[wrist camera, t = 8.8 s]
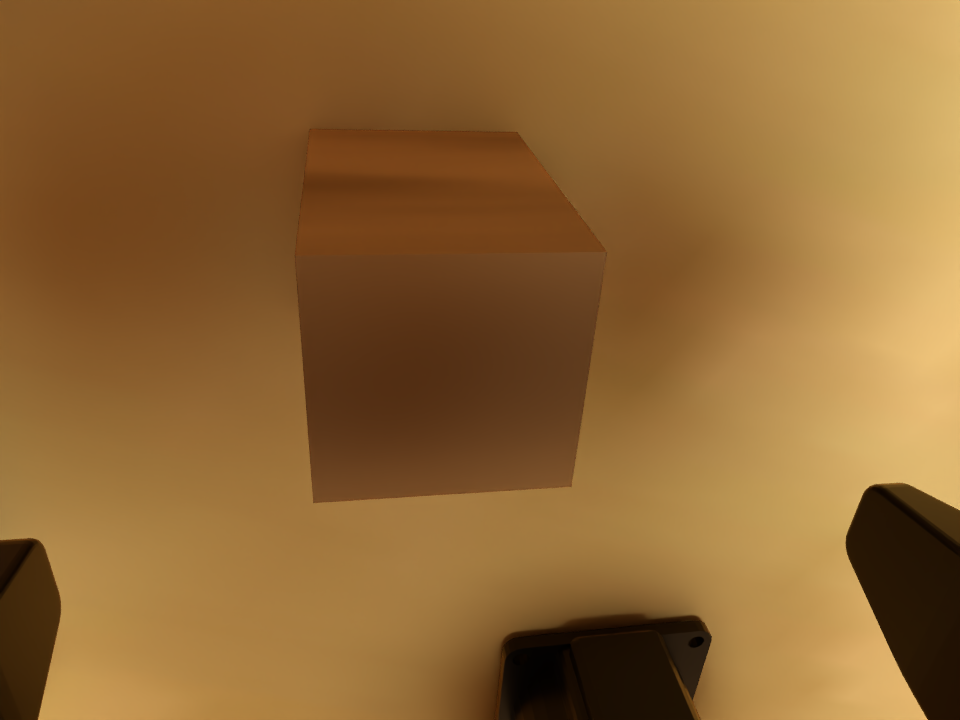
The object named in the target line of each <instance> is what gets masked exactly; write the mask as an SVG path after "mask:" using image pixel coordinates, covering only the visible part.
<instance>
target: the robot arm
mask: <svg viewBox="0 0 960 720" xmlns="http://www.w3.org/2000/svg"><path fill="white" fill-rule="evenodd" d="M846 550H847V555H848V557H849V560H850V562H851V564H852V567H853V569H854V571H855V573H856V575H857V577H858V580H859V582H860V584H861V586H862V588H863V591H864V593H865V595H866V597H867V599H868V602H869V604H870V606H871V608H872V610H873V613H874V615H875V617H876V619H877V621H878V623H879V626H880V628H881V630H882V632H883V634H884V637H885V639H886V641H887V643H888V645H889V648H890V650H891V652H892V654H893V656H894V658H895V660H896V662H897V664H898V666H899V669H900V671H901V673H902V675H903V677H904V678H905V680H906V682H907V684H908V686H909V688H910V689H911V691H912V693H913V695H914V697H915V698H916V700H917V702H918V704H919V705H920V707H921V709H922V711H923V712H924V714H925V716H926V718H927V719H928V720H960V510H958V509H956V508H954V507H952V506H950V505H948V504H946V503H944V502H942V501H940V500H938V499H936V498H934V497H932V496H930V495H928V494H926V493H924V492H922V491H920V490H918V489H916V488H914V487H913V486H910V485H908V484H904V483H889V484H875V485H872V486H870V487H869V488H868V489H866V490H865V492H864V493H863V495H862V498H861V500H860V503H859V505H858V508H857V510H856V513H855V515H854V517H853V520H852V522H851V525H850V527H849V530H848V532H847V536H846ZM60 615H61V600H60V595H59V591H58V588H57V585H56V582H55V579H54V575H53V572H52V569H51V566H50V563H49V560H48V557H47V553H46V550H45V548H44V546H43V544H42V543H41V542H40V541H39V540H37V539H33V538H27V539H12V540H0V720H38V717H39V713H40V708H41V704H42V699H43V695H44V690H45V685H46V681H47V676H48V672H49V667H50V663H51V658H52V654H53V649H54V645H55V640H56V636H57V631H58V626H59V622H60ZM711 638H712V636H711V634H710V633H709V631H708V629H707V627H706V625H705V623H703V622H701V621H685V622H674V623H664V624H653V625H642V626H632V627H621V628H611V629H600V630H590V631H579V632H569V633H558V634H547V635H537V636H526V637H518V638H514V639H512V640H510V641H508V642H507V643H506V644H505V645H504V646H503V649H502V656H501V666H500V675H499V684H498V694H497V703H496V713H495V720H701V719H700V717H699V715H698V713H697V710H696V708H695V706H694V703H693V701H692V700H693V697H694V694H695V691H696V688H697V685H698V681H699V678H700V675H701V672H702V669H703V666H704V662H705V659H706V656H707V653H708V650H709V647H710V643H711Z"/></svg>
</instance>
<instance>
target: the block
mask: <svg viewBox="0 0 960 720" xmlns="http://www.w3.org/2000/svg"><path fill="white" fill-rule="evenodd" d="M606 254H607V252H606V250H605V249H604V248H603V246H602V245H601V244H600V242H599V241H598V240H597V238H596V237H595V236H594V234H593V233H592V232H591V230H590V229H589V228H588V226H587V225H586V224H585V222H584V221H583V220H582V218H581V217H580V216H579V214H578V213H577V212H576V210H575V209H574V208H573V206H572V205H571V204H570V202H569V201H568V200H567V198H566V197H565V196H564V194H563V193H562V192H561V190H560V189H559V188H558V186H557V185H556V184H555V182H554V181H553V180H552V178H551V177H550V176H549V174H548V173H547V172H546V170H545V169H544V168H543V166H542V165H541V164H540V162H539V161H538V160H537V158H536V157H535V156H534V154H533V153H532V152H531V150H530V149H529V148H528V146H527V145H526V144H525V142H524V141H523V140H522V138H521V137H520V136H519V134H518V133H517V132H475V131H409V130H343V129H310V132H309V141H308V149H307V158H306V166H305V175H304V183H303V192H302V200H301V209H300V217H299V226H298V234H297V242H296V251H295V263H296V277H297V290H298V303H299V317H300V330H301V343H302V357H303V370H304V383H305V397H306V410H307V424H308V437H309V450H310V464H311V477H312V490H313V503H320V502H336V501H352V500H367V499H383V498H399V497H415V496H431V495H446V494H462V493H478V492H494V491H510V490H525V489H541V488H557V487H571V486H572V479H573V472H574V466H575V459H576V452H577V446H578V439H579V433H580V426H581V419H582V413H583V406H584V400H585V393H586V386H587V380H588V373H589V367H590V360H591V353H592V347H593V340H594V334H595V327H596V320H597V314H598V307H599V301H600V294H601V287H602V281H603V274H604V268H605V261H606Z"/></svg>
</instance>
